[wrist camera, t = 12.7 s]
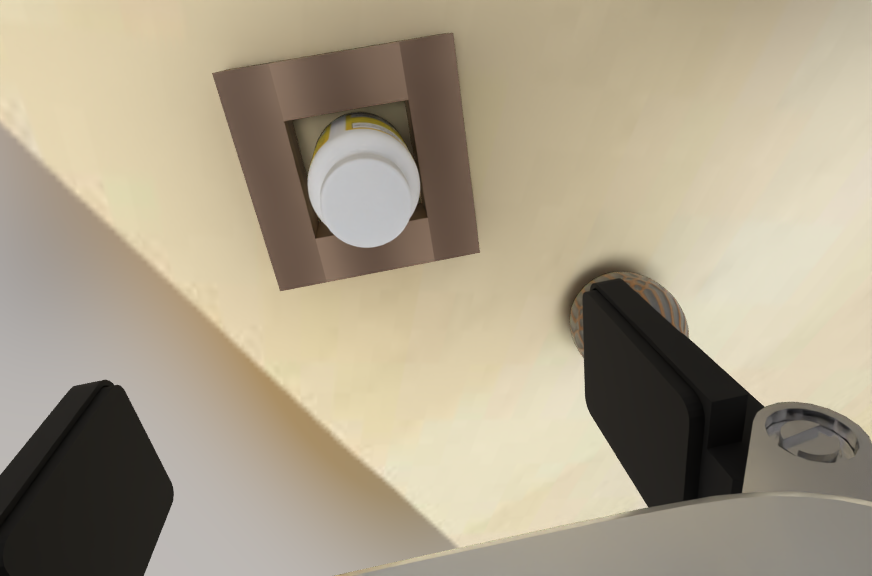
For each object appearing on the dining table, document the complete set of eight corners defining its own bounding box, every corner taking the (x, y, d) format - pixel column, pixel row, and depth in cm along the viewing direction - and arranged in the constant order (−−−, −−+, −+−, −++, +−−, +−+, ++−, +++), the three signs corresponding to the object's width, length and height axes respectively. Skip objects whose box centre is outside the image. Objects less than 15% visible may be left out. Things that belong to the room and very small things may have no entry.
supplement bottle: (341, 217, 33) (337, 281, 24) (298, 134, 30) (276, 173, 22) (421, 181, 33) (446, 233, 24) (384, 95, 30) (396, 117, 21)
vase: (667, 276, 38) (749, 339, 30) (617, 354, 40) (681, 431, 32) (587, 244, 36) (653, 301, 28) (540, 328, 38) (588, 403, 30)
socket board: (443, 33, 29) (453, 33, 27) (469, 235, 35) (479, 252, 32) (225, 70, 29) (212, 73, 26) (286, 271, 34) (280, 291, 31)
